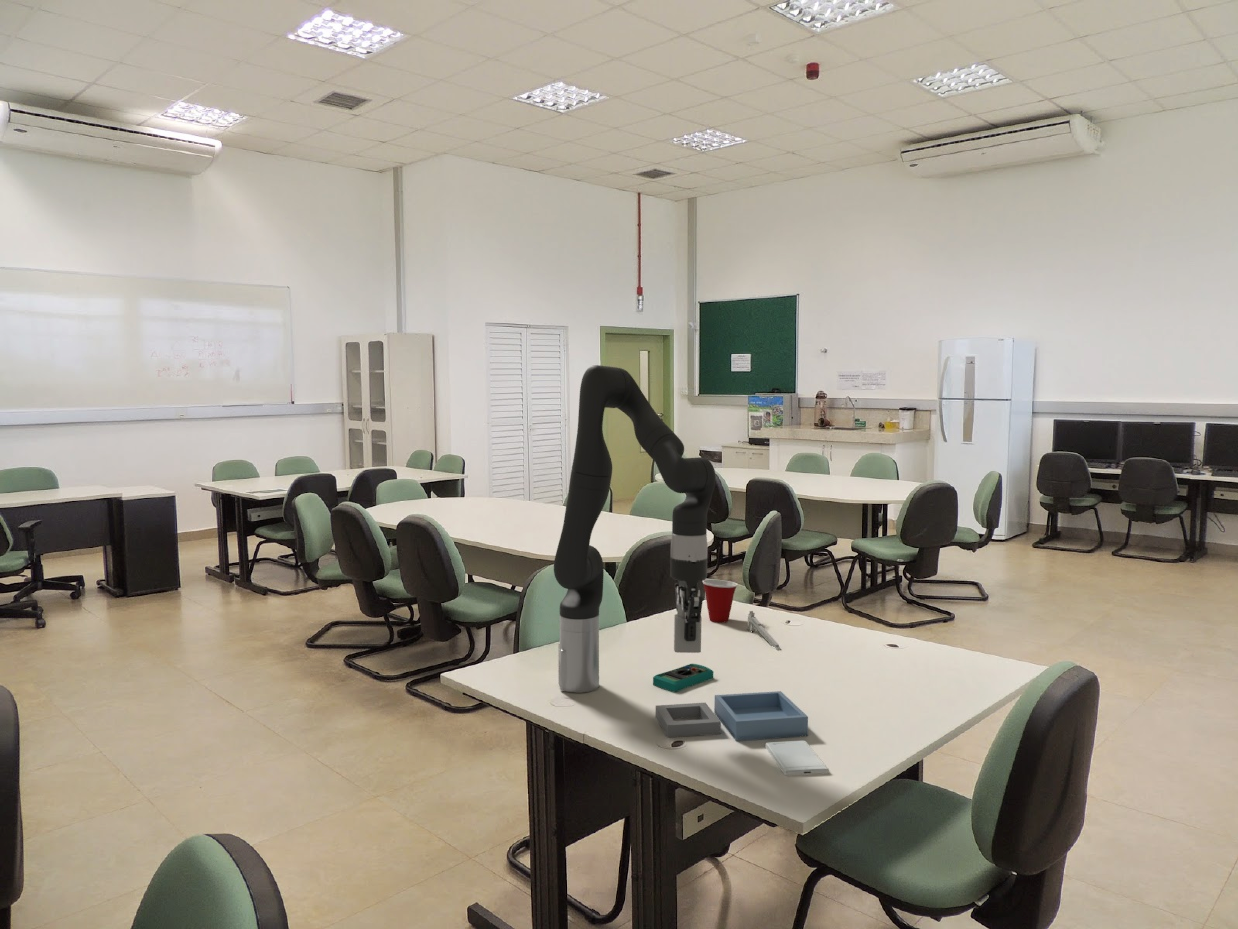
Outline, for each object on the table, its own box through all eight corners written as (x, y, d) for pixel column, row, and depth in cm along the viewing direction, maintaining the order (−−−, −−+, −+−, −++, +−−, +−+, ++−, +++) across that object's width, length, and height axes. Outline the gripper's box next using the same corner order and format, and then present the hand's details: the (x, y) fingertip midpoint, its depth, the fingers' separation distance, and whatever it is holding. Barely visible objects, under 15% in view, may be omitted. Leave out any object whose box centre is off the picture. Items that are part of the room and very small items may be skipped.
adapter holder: (667, 737, 170) (667, 725, 169) (655, 717, 180) (655, 705, 180) (720, 733, 172) (720, 721, 171) (705, 713, 182) (705, 702, 182)
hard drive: (765, 742, 165) (785, 770, 153) (806, 740, 166) (829, 767, 154) (765, 750, 165) (785, 779, 153) (805, 748, 166) (829, 776, 154)
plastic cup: (744, 621, 257) (745, 582, 256) (716, 626, 252) (717, 586, 251) (722, 613, 266) (722, 576, 265) (694, 618, 261) (695, 580, 260)
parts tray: (736, 741, 168) (736, 721, 168) (714, 713, 183) (714, 695, 182) (807, 736, 171) (808, 716, 170) (780, 709, 185) (780, 691, 185)
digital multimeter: (715, 680, 206) (715, 668, 206) (674, 694, 195) (674, 682, 195) (692, 673, 211) (692, 661, 211) (651, 686, 201) (651, 674, 200)
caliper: (747, 631, 248) (747, 609, 248) (750, 630, 248) (750, 609, 248) (777, 651, 228) (777, 628, 228) (781, 651, 229) (781, 628, 228)
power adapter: (701, 652, 173) (702, 595, 172) (674, 652, 173) (675, 594, 172) (699, 648, 176) (700, 591, 175) (673, 648, 176) (674, 591, 175)
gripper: (663, 549, 179) (661, 629, 181) (679, 562, 166) (678, 649, 167) (697, 548, 181) (696, 627, 182) (716, 561, 167) (714, 647, 168)
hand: (687, 637), depth 175 cm, fingers closed on power adapter, 3 cm apart
